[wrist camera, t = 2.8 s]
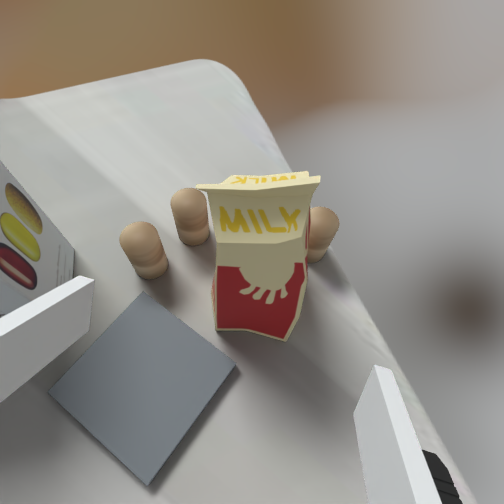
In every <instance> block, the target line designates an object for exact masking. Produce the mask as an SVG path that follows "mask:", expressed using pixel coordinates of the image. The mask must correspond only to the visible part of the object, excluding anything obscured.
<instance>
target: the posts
mask: <svg viewBox="0 0 504 504" xmlns="http://www.w3.org/2000/svg"><path fill="white" fill-rule="evenodd" d="M171 208H172V212H173V216H174V220H175V224H176V228H177V232H178V235H179V238H180V240H181V241H182V242H183V243H185V244H187V245H190V246H196V245H200V244H202V243H203V242H205V241H206V240H207V238H208V236H209V223H208V213H207V203H206V198H205V196H204V194H203V193H202V192H201V191H199V190H197V189H194V188H185V189H181V190H179V191H177V192H176V193H175V194H174V195H173V197H172V199H171ZM310 211H311V224H310V233H309V242H308V251H307V262H308V263H315V262H318V261H319V260H321V259H322V258H323V256H324V254H325V252H326V251H327V249H328V247H329V245H330V243H331V241H332V240H333V238H334V236H335V234H336V232H337V230H338V228H339V219H338V217H337V216H336V214H335V213H334V212H333V211H331V210H330V209H328V208H325V207H314V208H312V209H310ZM120 245H121V247H122V249H123V250H124V252H125V254H126V255H127V257H128V259H129V261H130V262H131V264H132V266H133V267H134V269H135V271H136V272H137V274H138V275H139V276H140V277H142V278H144V279H155V278H158V277H160V276H161V275H163V274H164V272H165V271H166V269H167V267H168V260H167V257H166V254H165V251H164V248H163V246H162V243H161V240H160V237H159V235H158V232H157V230H156V228H155V227H154V226H153V225H151V224H150V223H147V222H135V223H132V224H130V225H128V226H127V227H126V228H125V229H124V230H123V231H122V233H121V235H120Z"/></svg>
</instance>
